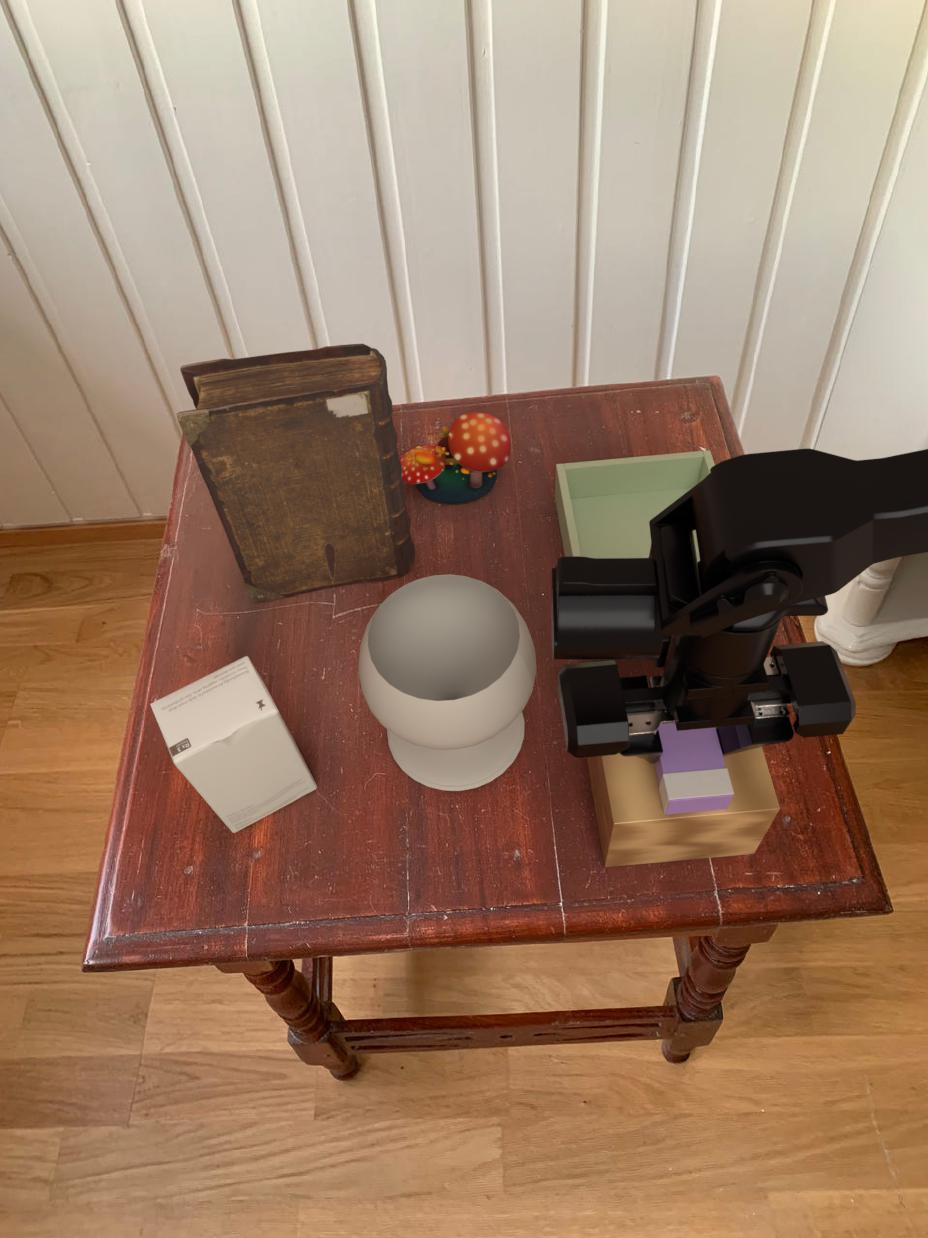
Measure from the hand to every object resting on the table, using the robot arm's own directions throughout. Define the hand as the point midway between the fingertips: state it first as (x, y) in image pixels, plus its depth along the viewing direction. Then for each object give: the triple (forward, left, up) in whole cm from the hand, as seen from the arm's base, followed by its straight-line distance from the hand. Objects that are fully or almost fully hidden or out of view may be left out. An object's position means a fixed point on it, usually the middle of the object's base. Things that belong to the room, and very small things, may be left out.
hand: (683, 754), depth 67 cm
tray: (-3, -25, -9) cm, 27 cm away
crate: (0, 0, -9) cm, 9 cm away
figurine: (+15, -40, -10) cm, 44 cm away
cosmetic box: (+34, -5, -10) cm, 36 cm away
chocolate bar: (0, 0, 0) cm, 0 cm away
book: (+28, -28, -10) cm, 41 cm away
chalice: (+17, -9, -10) cm, 21 cm away
